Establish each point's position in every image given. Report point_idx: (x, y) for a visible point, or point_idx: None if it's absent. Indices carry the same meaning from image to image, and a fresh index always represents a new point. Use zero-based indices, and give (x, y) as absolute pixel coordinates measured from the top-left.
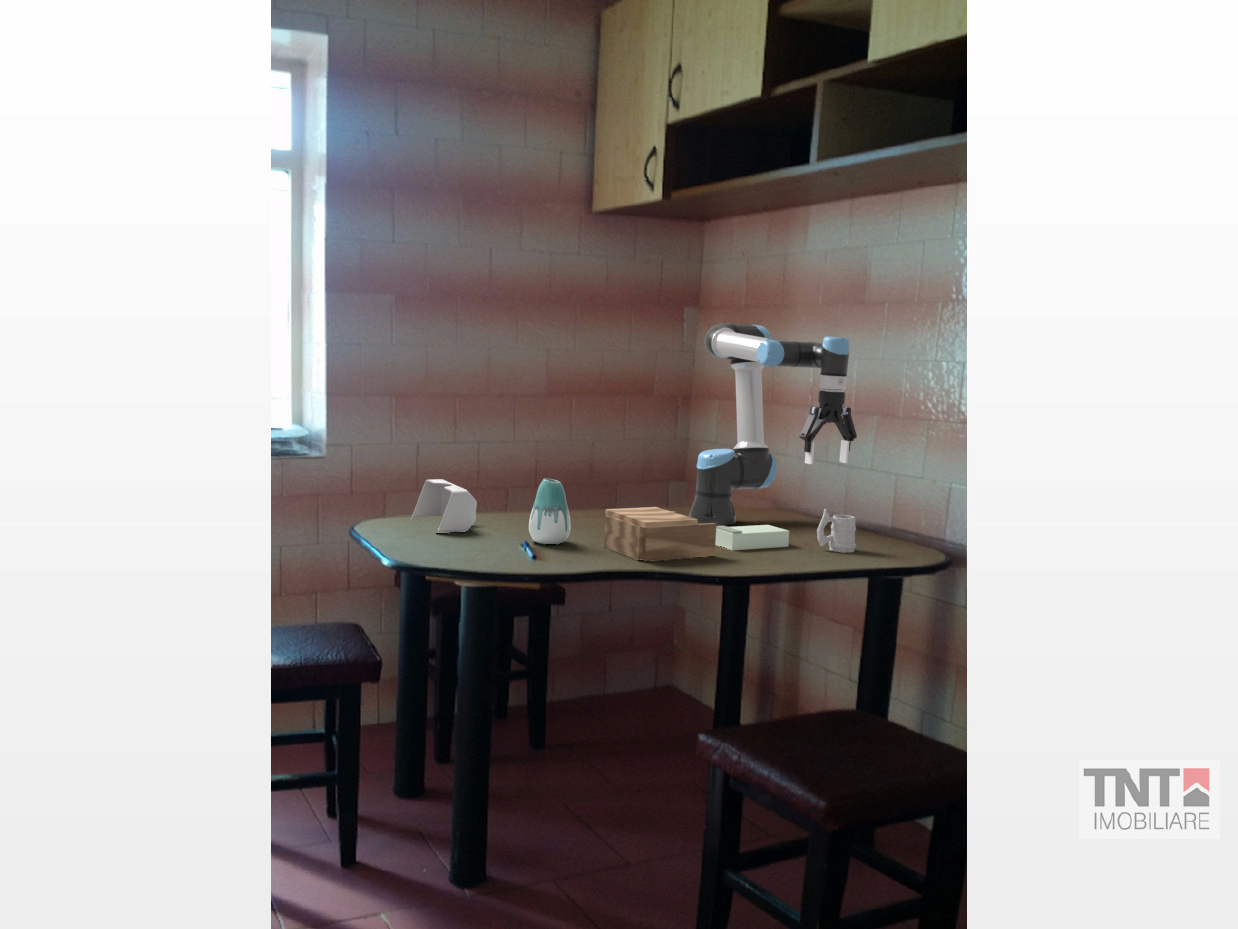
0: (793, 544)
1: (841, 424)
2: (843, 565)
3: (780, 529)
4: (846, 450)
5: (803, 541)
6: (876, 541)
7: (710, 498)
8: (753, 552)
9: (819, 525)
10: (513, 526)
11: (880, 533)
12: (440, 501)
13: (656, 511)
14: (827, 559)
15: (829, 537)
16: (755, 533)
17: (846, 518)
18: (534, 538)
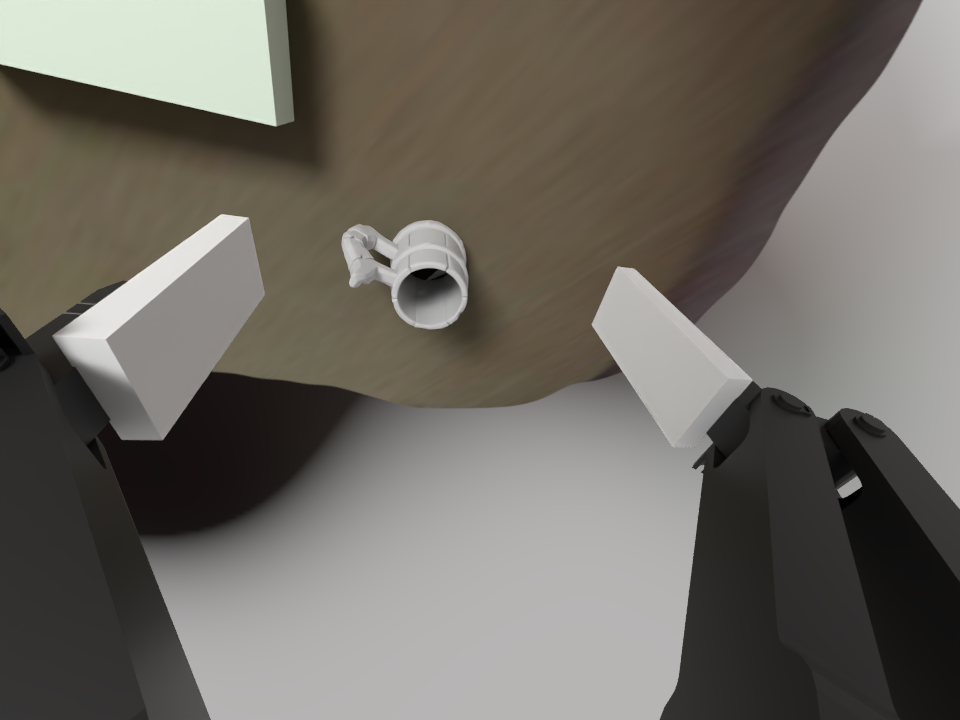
0: (340, 102)
1: (690, 682)
2: (297, 364)
3: (250, 79)
4: (633, 379)
5: (421, 78)
6: (631, 215)
7: None
8: (82, 133)
9: (343, 249)
10: None
11: (782, 128)
12: None
13: None
14: (300, 311)
15: (383, 254)
16: (69, 79)
17: (408, 323)
18: None
